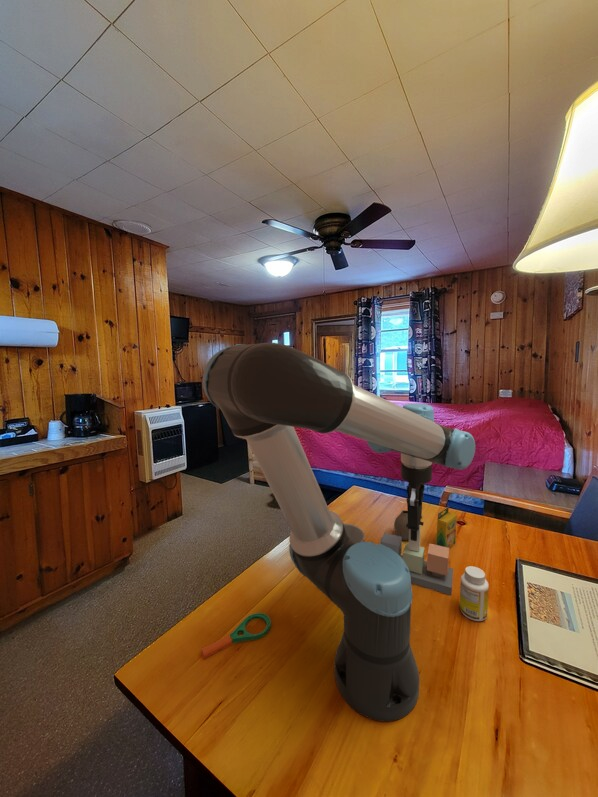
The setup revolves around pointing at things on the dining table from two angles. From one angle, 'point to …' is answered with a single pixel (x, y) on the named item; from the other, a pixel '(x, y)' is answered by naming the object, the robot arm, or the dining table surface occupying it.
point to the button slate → (392, 542)
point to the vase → (402, 525)
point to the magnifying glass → (235, 637)
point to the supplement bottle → (474, 594)
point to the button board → (433, 579)
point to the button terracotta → (438, 559)
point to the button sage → (414, 559)
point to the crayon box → (446, 529)
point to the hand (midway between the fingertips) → (414, 549)
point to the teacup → (354, 532)
